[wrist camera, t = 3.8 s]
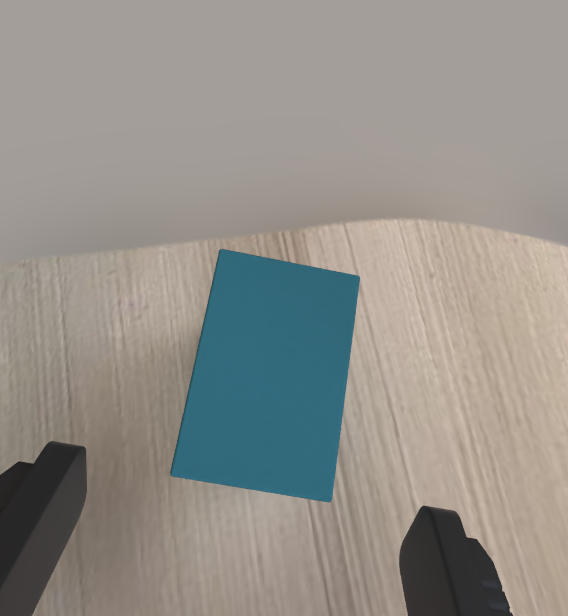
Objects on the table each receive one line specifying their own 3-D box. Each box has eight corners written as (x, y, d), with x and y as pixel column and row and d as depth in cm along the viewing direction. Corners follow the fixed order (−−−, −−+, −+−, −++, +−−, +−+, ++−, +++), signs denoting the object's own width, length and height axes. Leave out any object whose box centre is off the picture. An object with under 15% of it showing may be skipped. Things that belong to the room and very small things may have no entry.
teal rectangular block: (196, 457, 20) (169, 476, 11) (224, 322, 21) (219, 247, 13) (288, 472, 20) (331, 503, 11) (308, 338, 22) (360, 275, 13)
